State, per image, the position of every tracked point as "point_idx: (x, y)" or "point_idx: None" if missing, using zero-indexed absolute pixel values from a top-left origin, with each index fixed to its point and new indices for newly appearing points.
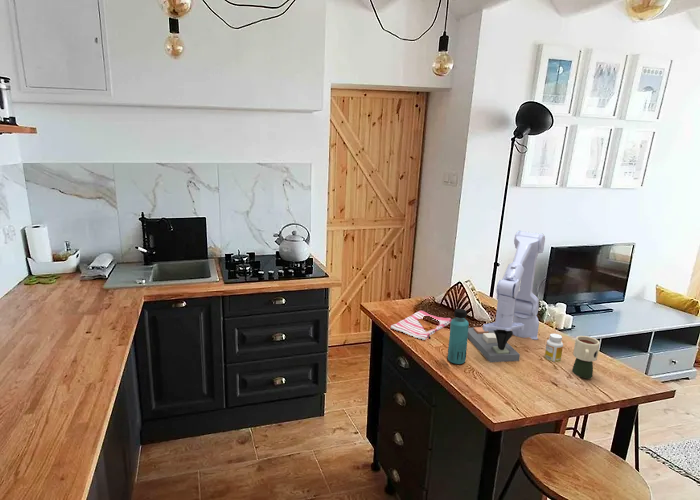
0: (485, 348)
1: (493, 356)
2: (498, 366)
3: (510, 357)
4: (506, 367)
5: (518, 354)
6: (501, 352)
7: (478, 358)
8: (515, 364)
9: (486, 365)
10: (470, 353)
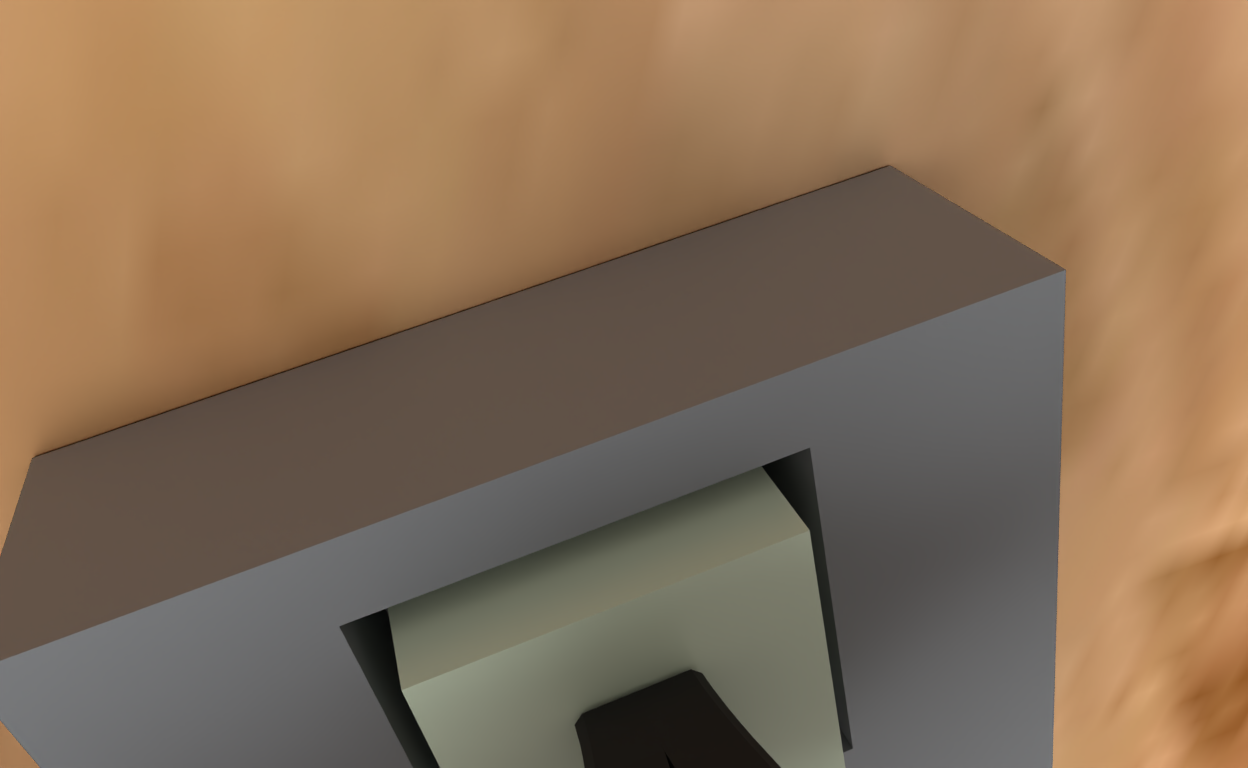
0: (1010, 657)
1: (945, 291)
2: (677, 125)
3: (336, 474)
4: (453, 113)
5: (25, 650)
6: (670, 554)
7: None
8: (143, 373)
9: (971, 113)
10: (1083, 568)
